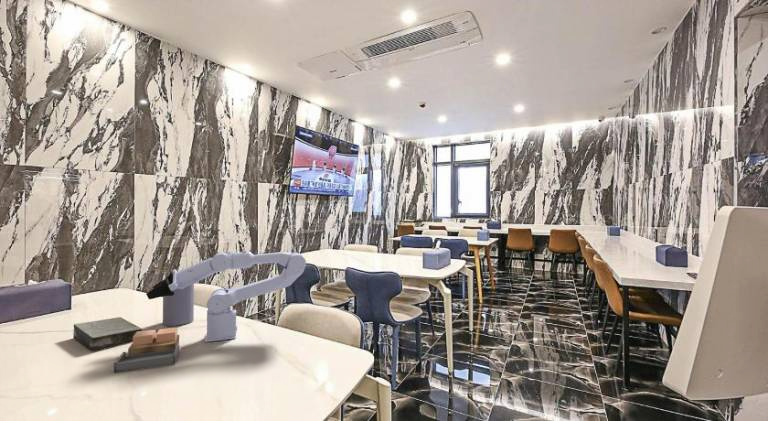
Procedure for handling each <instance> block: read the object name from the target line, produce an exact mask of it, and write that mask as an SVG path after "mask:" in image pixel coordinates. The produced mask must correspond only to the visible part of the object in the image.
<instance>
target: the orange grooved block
mask: <svg viewBox="0 0 768 421" xmlns="http://www.w3.org/2000/svg"><path fill="white" fill-rule="evenodd" d="M177 345H180V334H177V337H176V339H175V340H174V341H166V342H157V343H156V338H155V340H154V341H153V343H149V344H140V345H133V342H131V345H130V346H129V347H128V349H127V355H135V354H143V353H151V352H159V351H167V350H175V349H176V347H177Z"/></svg>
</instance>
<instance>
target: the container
mask: <svg viewBox="0 0 768 421" xmlns="http://www.w3.org/2000/svg"><path fill="white" fill-rule="evenodd" d="M173 292H174V295H173V296H162V325H164V326H166V327H179V326H183V325H187V324H190V323H191V322H193V321H194V319H195V318H194V315H195V314H194V310H195V308H194V307H195V305H194V304H195V303H194V302H195V301H194V300H195V283H193V284H191V285H189V286H187V287H185V288H184V289H175V290H173Z"/></svg>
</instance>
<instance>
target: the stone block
mask: <svg viewBox="0 0 768 421" xmlns="http://www.w3.org/2000/svg"><path fill="white" fill-rule="evenodd" d="M138 331H143V328H141V327H139V326H137V325H136V324H134V323H132V322H131V321H129V320H126V319H124V318H123V317H121V316H120V317H119V316H118V317H112V318H106V319H99V320H98V319H97V320H93V321H86V322H78V323H74V324H73V333H72V334H73V340H75V341H76V342H77V343H79V344H80V345H81V346H83V347H85V349H86V348H87V350H88V351H90V352H92V351H93V352H97V350H98V351H102V350H105V349H104V348H106V349H109V347H110V348H113V347H118V346H120V345H124V344H128V343H133V336H134V335H135V334H136V332H138ZM101 349H102V350H101Z"/></svg>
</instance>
